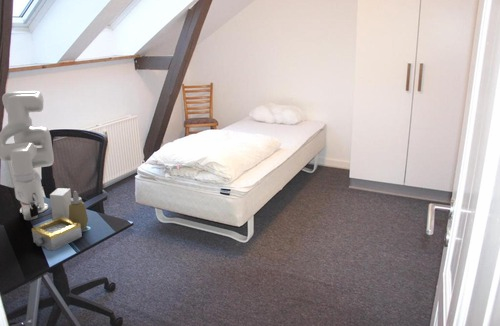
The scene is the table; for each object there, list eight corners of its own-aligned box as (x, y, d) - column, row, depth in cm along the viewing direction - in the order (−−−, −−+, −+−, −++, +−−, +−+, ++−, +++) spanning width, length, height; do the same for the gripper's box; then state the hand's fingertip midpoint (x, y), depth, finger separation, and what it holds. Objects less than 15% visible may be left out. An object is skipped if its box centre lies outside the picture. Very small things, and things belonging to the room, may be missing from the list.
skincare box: (61, 217, 191) (57, 187, 186) (75, 218, 190) (71, 188, 186) (52, 225, 183) (48, 194, 178) (67, 225, 182) (62, 194, 178)
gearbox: (29, 244, 166) (26, 230, 164) (63, 229, 179) (61, 216, 177) (48, 252, 160) (45, 238, 158) (81, 236, 173) (80, 223, 171)
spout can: (21, 217, 174) (18, 201, 171) (37, 211, 180) (35, 195, 177) (28, 221, 171) (25, 204, 169) (44, 214, 177) (42, 198, 175)
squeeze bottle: (82, 232, 177) (77, 195, 171) (66, 230, 178) (61, 193, 173) (92, 224, 184) (88, 188, 179) (76, 222, 186) (72, 187, 180)
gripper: (4, 174, 169) (11, 211, 175) (27, 183, 161) (34, 222, 167) (21, 169, 175) (27, 205, 181) (44, 178, 167) (50, 216, 173)
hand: (30, 213), depth 174 cm, fingers closed on spout can, 5 cm apart
